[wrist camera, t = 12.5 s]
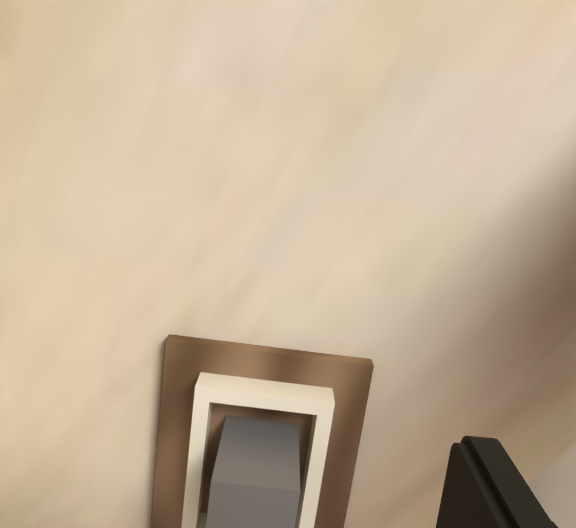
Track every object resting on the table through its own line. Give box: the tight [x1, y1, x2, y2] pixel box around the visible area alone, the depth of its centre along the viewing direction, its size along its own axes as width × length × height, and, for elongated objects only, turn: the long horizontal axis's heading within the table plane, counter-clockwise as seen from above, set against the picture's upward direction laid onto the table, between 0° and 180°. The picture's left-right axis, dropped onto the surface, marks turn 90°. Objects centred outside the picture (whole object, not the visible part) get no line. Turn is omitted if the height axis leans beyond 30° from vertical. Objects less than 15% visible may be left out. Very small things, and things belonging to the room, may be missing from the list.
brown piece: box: [151, 334, 374, 528], centre depth 35 cm, size 14×16×3 cm
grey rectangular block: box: [206, 415, 300, 528], centre depth 32 cm, size 5×7×7 cm
